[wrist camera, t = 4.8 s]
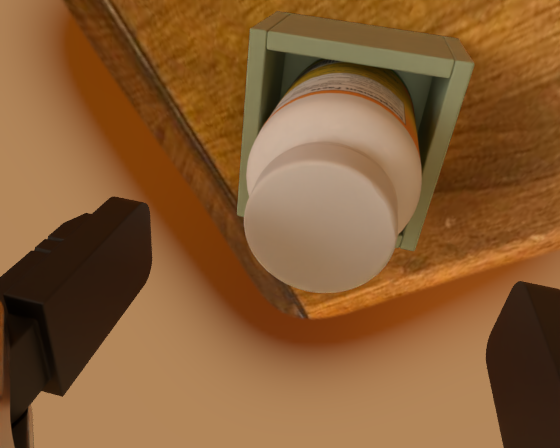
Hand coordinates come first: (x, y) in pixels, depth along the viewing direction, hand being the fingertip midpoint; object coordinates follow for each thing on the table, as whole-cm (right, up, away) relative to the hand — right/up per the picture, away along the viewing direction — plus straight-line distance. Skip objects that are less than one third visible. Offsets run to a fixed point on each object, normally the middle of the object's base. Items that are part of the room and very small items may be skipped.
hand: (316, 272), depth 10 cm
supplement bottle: (+2, +6, +10) cm, 12 cm away
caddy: (+2, +6, +10) cm, 12 cm away
